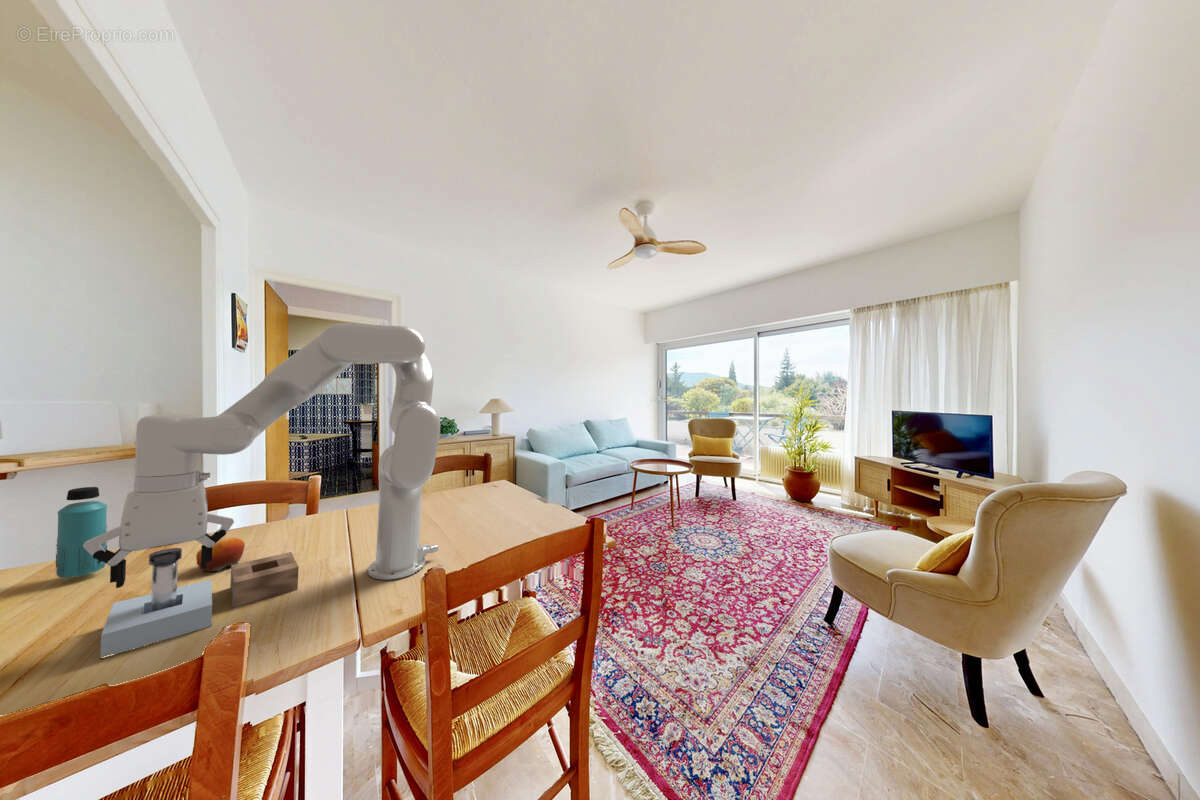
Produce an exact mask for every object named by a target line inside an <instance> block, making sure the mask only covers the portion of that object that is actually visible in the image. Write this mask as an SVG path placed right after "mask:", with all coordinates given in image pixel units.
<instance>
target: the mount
mask: <svg viewBox="0 0 1200 800" xmlns="http://www.w3.org/2000/svg"><path fill="white" fill-rule="evenodd" d="M238 563H239V564H234V565H230V584H229V585H230V587H229V588H230V589H229V590H230V596H231V603H232V609H234V608H236V607H241V606H244V605H247V604H251V603H254V602H258V601H261V600H265V599H268V598H272V597H275V596H279V595H282V594H285V593H286V594H287V593H289V592H292V591H293V592H294V591H297V590H298V589H299V565H298V563H297V561H296V559H295V557H294V555H293V553H292V551H290V552H284V553H280V554H276V555H270V556H267V557H266V556H265V557H262V558H257V559H253V560H248V561H243V562H238Z"/></svg>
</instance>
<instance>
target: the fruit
mask: <svg viewBox="0 0 1200 800" xmlns="http://www.w3.org/2000/svg"><path fill="white" fill-rule="evenodd" d="M245 544H246V543H245V541H244V540H242V539H241V538H238V537H236V536H235V537H232V536H231V537H229V536H227V537H223V538H221V539H220V540H219V541H218V542H216V543H215V545H214V546H213V547H212V562H207V564H206V569H201V549H200V550H198V551H197V553H196V565H197V566H198V568H199V569H200V570H201V571H205V572H214V571H215V572H221V571H222V570H223V569H224V568H227V567H229V566H231V565H235V564H239V563H240V560H241V559H242V556H243V554H244V550H245Z"/></svg>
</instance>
